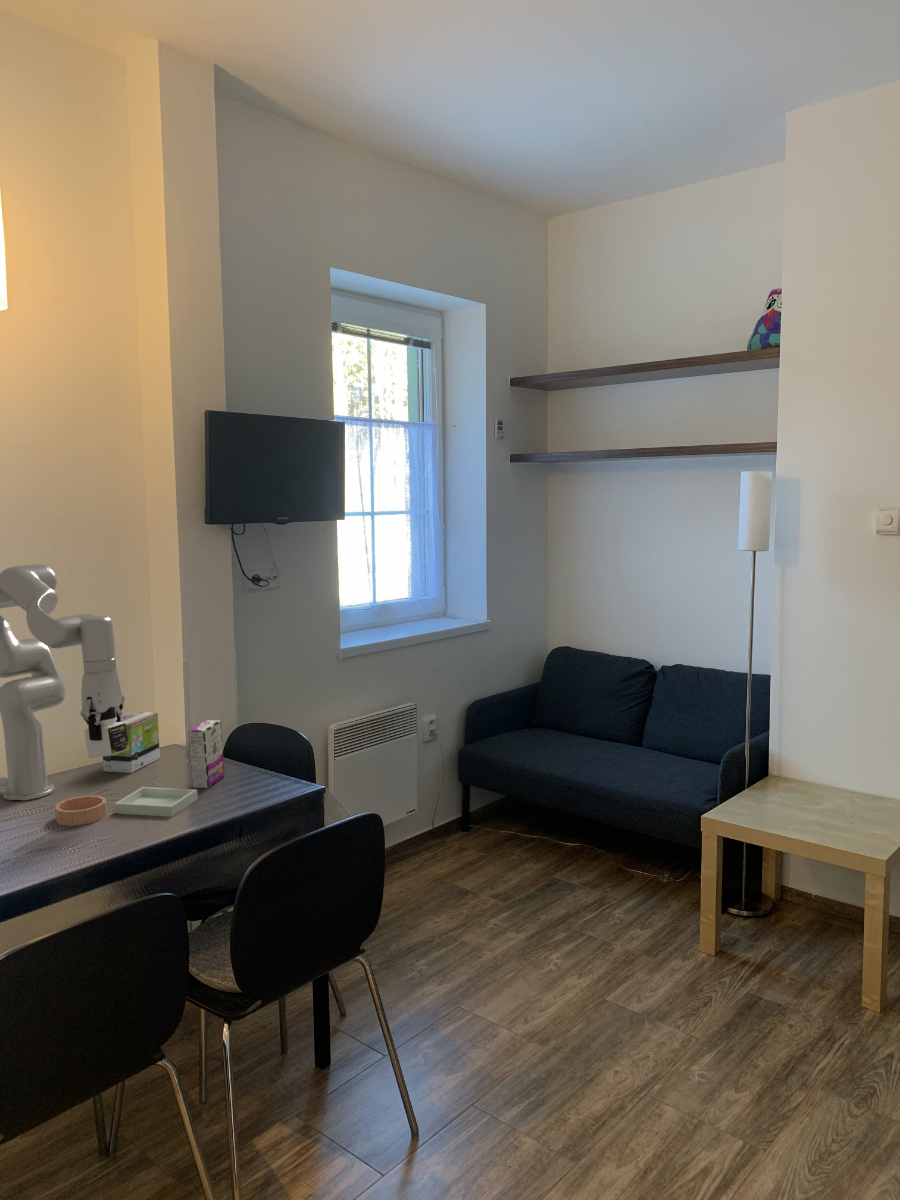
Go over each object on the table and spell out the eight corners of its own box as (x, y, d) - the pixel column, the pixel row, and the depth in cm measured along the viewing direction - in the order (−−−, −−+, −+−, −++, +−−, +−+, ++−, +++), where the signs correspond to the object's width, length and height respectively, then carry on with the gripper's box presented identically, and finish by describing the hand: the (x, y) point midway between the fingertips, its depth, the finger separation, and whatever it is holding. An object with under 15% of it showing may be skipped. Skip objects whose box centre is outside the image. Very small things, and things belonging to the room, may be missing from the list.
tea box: (133, 773, 262) (129, 723, 260) (102, 772, 264) (99, 722, 262) (161, 758, 276) (158, 711, 275) (132, 757, 279) (128, 710, 277)
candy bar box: (208, 775, 258) (204, 719, 256) (225, 776, 257) (221, 719, 255) (191, 788, 247) (187, 730, 245) (208, 789, 246) (204, 730, 244)
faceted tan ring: (46, 824, 223) (45, 810, 222) (75, 807, 234) (74, 794, 233) (88, 826, 220) (87, 812, 220) (115, 810, 231) (114, 796, 231)
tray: (114, 813, 229) (114, 803, 228) (143, 796, 241) (142, 786, 241) (172, 816, 225) (171, 806, 225) (197, 799, 238) (197, 789, 237)
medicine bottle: (112, 755, 222) (104, 707, 222) (88, 758, 224) (80, 710, 224) (130, 749, 229) (122, 702, 229) (106, 751, 231) (98, 705, 231)
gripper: (108, 659, 234) (114, 726, 236) (63, 673, 217) (70, 745, 219) (133, 659, 232) (139, 727, 234) (90, 673, 215) (96, 745, 217)
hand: (105, 735), depth 227 cm, fingers closed on medicine bottle, 7 cm apart
